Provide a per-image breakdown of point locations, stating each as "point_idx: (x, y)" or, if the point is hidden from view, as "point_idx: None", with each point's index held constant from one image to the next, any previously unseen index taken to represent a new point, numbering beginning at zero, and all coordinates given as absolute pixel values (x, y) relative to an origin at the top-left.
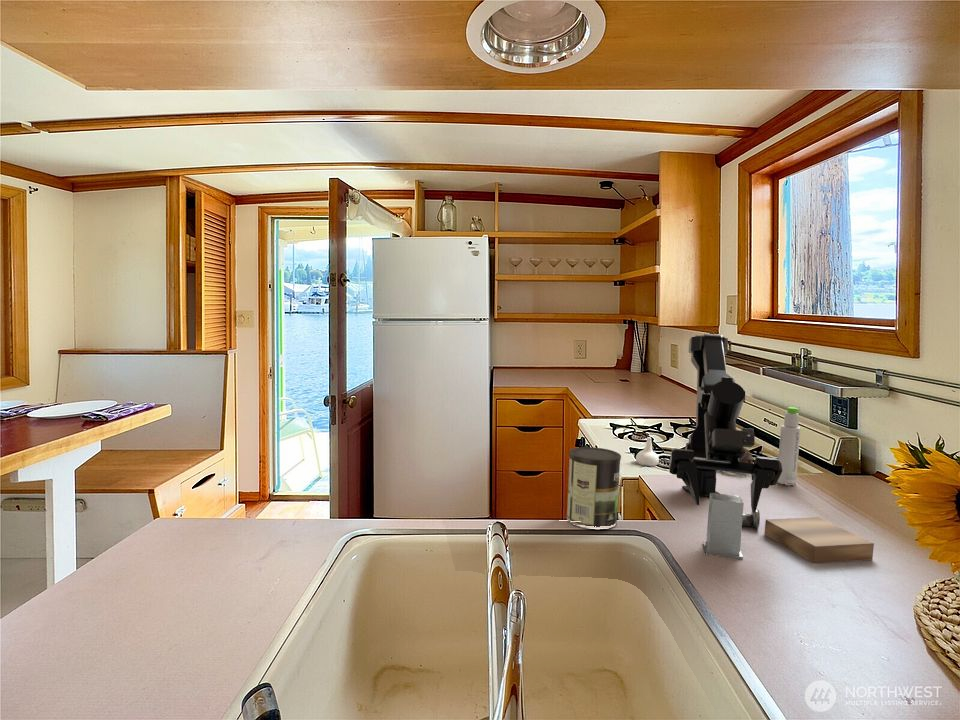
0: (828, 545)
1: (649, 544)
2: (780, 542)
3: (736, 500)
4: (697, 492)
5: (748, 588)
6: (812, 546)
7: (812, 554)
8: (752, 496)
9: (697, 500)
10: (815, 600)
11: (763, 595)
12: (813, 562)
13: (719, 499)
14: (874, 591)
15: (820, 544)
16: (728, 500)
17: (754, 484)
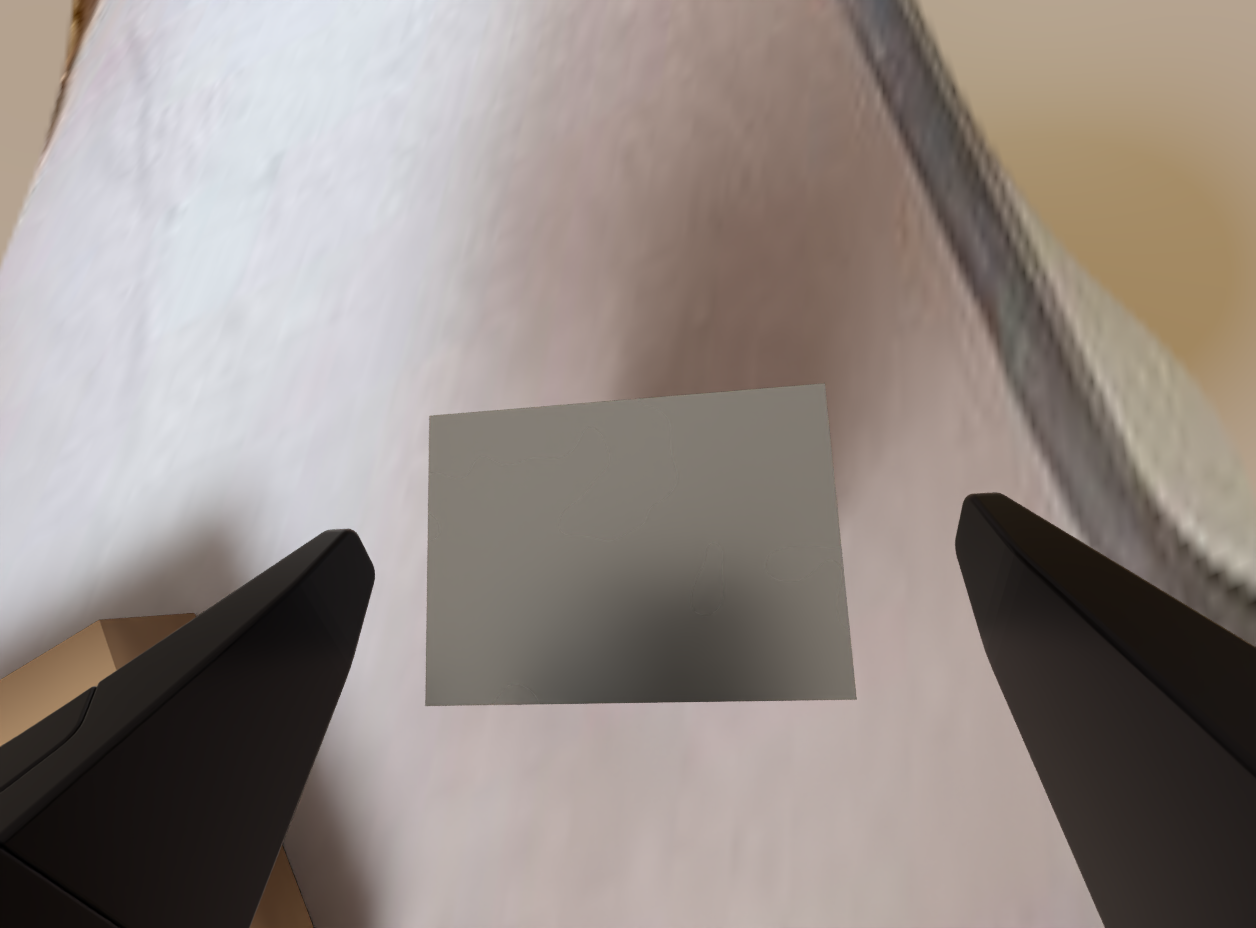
0: (13, 676)
1: (1178, 463)
2: (285, 870)
3: (503, 476)
4: (1067, 572)
5: (596, 149)
6: (117, 638)
7: (161, 630)
8: (254, 730)
9: (1006, 505)
10: (329, 180)
11: (540, 115)
12: (194, 617)
13: (728, 407)
14: (49, 391)
15: (55, 672)
16: (609, 427)
17: (53, 832)
